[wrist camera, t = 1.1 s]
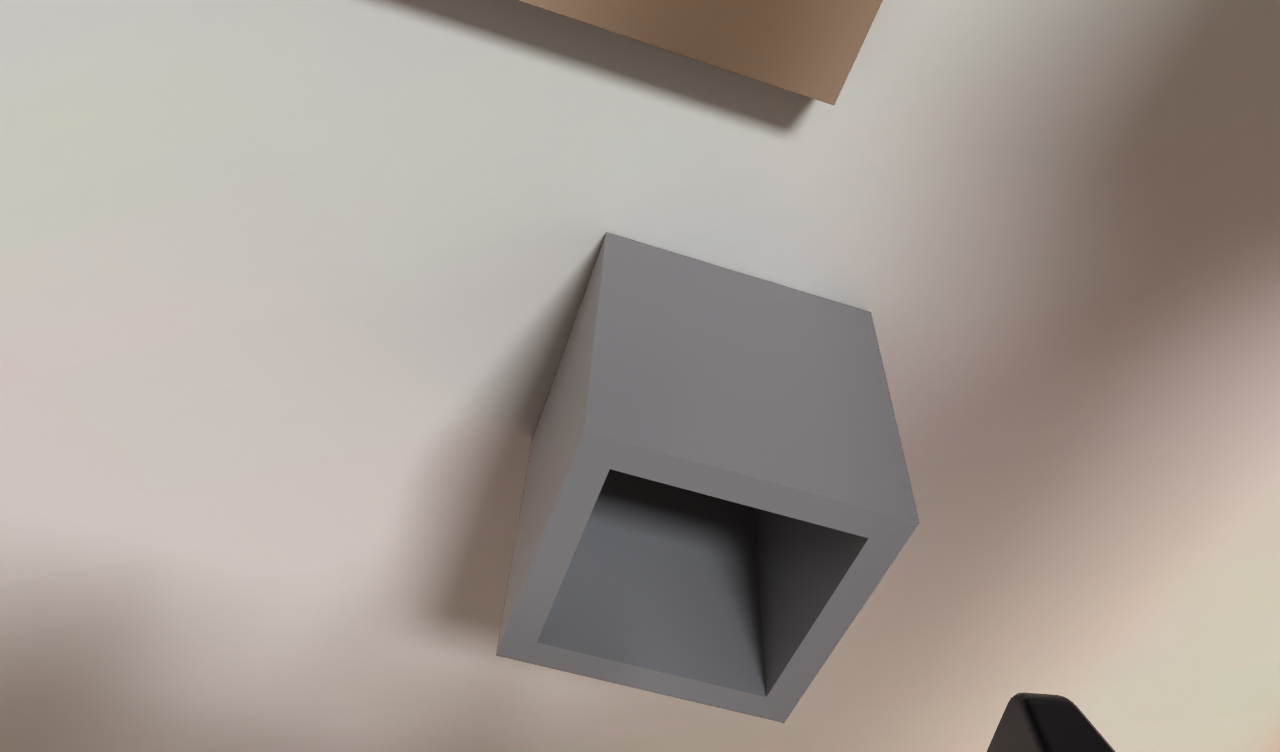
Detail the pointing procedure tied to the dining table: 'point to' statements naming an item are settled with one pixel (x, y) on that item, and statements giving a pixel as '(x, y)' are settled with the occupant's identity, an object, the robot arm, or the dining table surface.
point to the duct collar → (705, 486)
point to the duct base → (744, 35)
